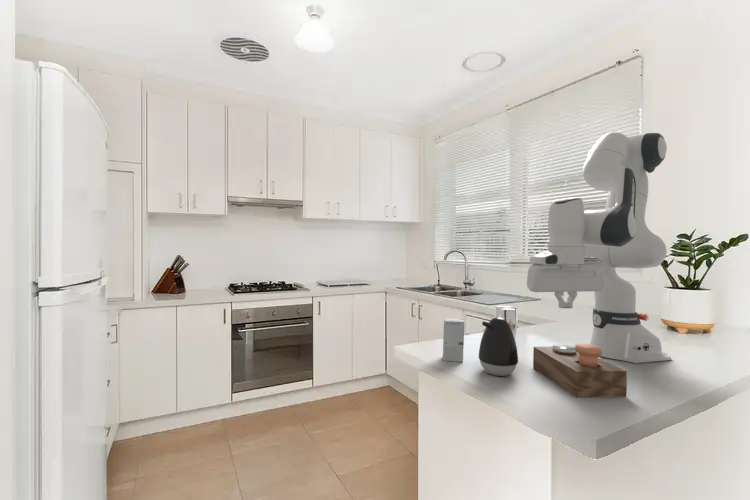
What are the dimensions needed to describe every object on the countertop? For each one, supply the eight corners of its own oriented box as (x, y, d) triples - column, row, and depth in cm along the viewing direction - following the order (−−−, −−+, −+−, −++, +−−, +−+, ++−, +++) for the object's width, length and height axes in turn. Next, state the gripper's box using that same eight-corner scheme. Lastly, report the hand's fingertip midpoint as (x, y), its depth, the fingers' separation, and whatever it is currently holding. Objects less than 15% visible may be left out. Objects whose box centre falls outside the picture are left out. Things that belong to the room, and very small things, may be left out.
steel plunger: (567, 362, 101) (568, 344, 101) (580, 369, 95) (580, 350, 95) (548, 362, 100) (548, 344, 100) (559, 369, 95) (560, 350, 95)
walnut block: (573, 367, 103) (574, 346, 103) (626, 396, 83) (626, 371, 83) (533, 367, 102) (533, 346, 102) (576, 397, 83) (577, 371, 82)
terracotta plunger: (591, 363, 91) (591, 343, 91) (607, 371, 85) (607, 350, 85) (570, 363, 90) (570, 343, 90) (584, 371, 85) (584, 350, 85)
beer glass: (518, 359, 110) (519, 310, 110) (495, 357, 112) (495, 309, 111) (514, 352, 117) (515, 306, 117) (492, 350, 118) (493, 305, 118)
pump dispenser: (470, 368, 101) (471, 315, 101) (500, 364, 105) (500, 312, 104) (494, 381, 91) (495, 322, 91) (526, 376, 95) (527, 319, 95)
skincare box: (442, 361, 107) (443, 320, 107) (442, 356, 112) (443, 317, 112) (464, 362, 107) (464, 321, 106) (462, 357, 111) (463, 318, 111)
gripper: (594, 256, 101) (594, 305, 102) (524, 257, 100) (524, 306, 100) (611, 257, 95) (610, 309, 95) (535, 258, 94) (535, 310, 94)
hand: (565, 308), depth 98 cm, fingers closed
